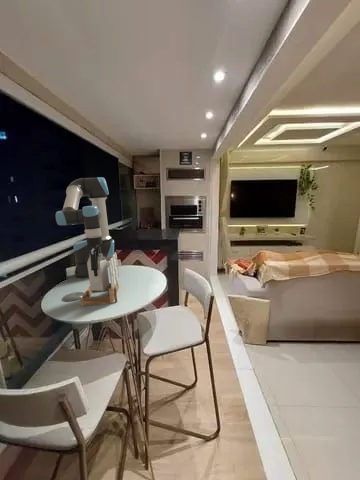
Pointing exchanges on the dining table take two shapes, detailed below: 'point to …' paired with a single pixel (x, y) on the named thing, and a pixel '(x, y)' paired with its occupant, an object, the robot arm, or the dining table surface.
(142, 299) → the dining table surface
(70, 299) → the disc
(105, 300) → the cold frame
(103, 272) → the milk carton
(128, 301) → the dining table surface
